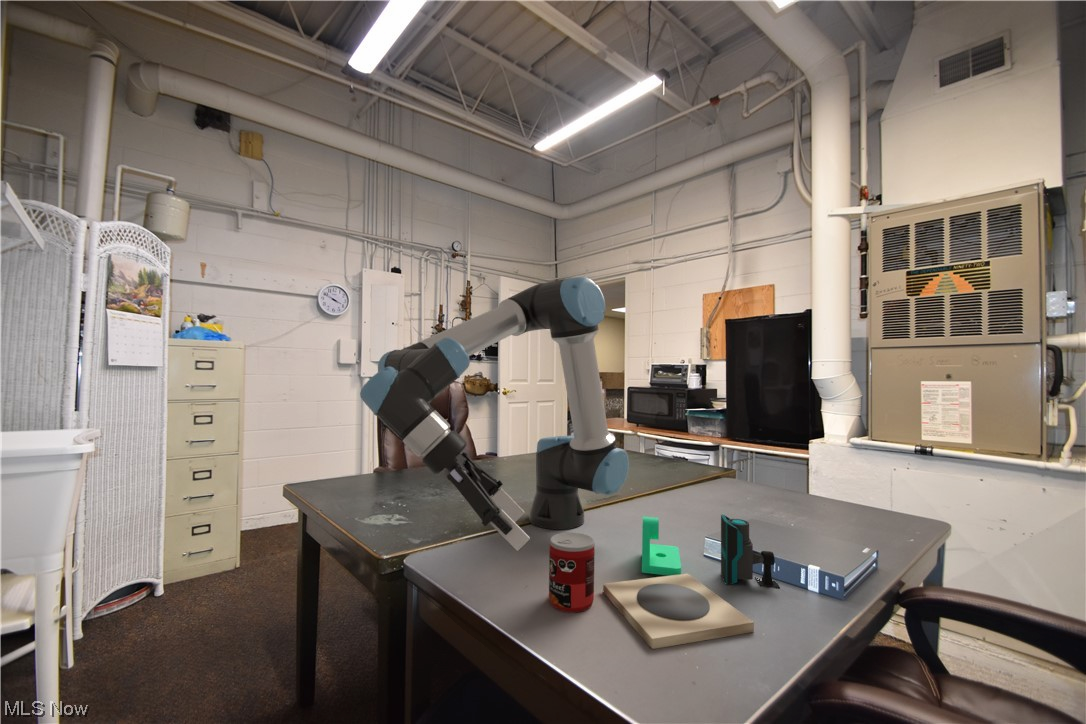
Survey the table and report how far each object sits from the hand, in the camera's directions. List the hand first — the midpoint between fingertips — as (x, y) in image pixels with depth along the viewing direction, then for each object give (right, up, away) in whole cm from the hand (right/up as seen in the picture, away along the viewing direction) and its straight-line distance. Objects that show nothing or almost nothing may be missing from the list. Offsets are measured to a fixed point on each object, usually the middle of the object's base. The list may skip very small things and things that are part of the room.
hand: (521, 529), depth 79 cm
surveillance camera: (+45, -14, +10) cm, 48 cm away
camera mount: (+29, -14, +16) cm, 36 cm away
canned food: (+9, -13, +1) cm, 16 cm away
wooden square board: (+26, -13, -1) cm, 29 cm away
